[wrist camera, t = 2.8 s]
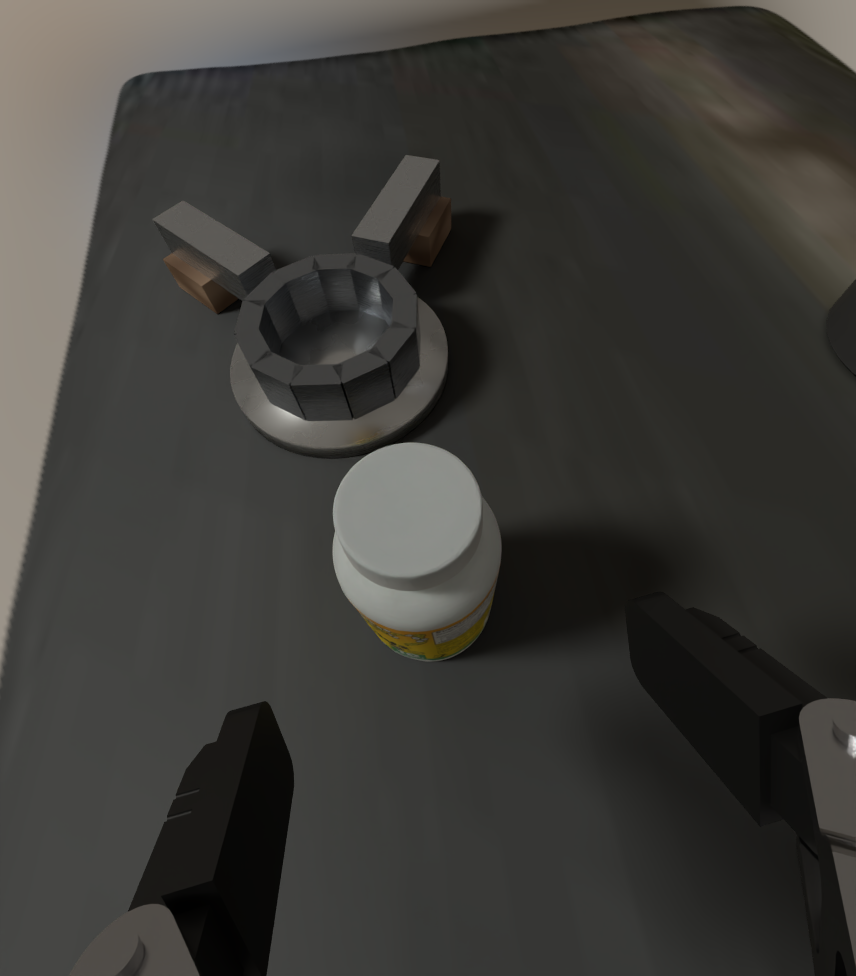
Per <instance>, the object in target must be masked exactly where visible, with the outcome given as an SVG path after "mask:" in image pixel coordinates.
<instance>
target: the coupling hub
mask: <svg viewBox="0 0 856 976" xmlns="http://www.w3.org/2000/svg"><path fill="white" fill-rule="evenodd" d="M273 272H274V273H272V272H271V273H270V274H269V275H268V276H267V277H266V278H265V279H264V280H263V281H262V282H261V283H260V284H259V285H258V286H257V287H256V288H255V289H254V290H253V291H252V292H251V293H250V294H249V295H247V296H246V297H245V298H244V301H242V305H241V309H240V312H239V316H238V320H237V324H236V327H235V331H234V336H235V338H236V340H237V342H238V343H237V345H236V348H235V351H234V354H233V357H232V362H231V367H230V380H231V385H232V390H233V393H234V396H235V399H236V401H237V402H238V404H239V406H240V408H241V409H242V411H243V412H244V414H245V415H246V417H247V418H248V420H249V421H250V423H251V424H252V425H253V427H254V428H255V429H256V430H257V431H258V432H259V433H260V434H261V435H262V436H263V437H265V438H266V439H267V440H268V441H270V442H272V443H273V444H275V445H276V446H278V447H280V448H283V449H285V450H287V451H290V452H293V453H296V454H300V455H303V456H309V457H316V458H344V457H352V456H357V455H362V454H366V453H369V452H372V451H376V450H378V449H381V448H383V447H385V446H388V445H390V444H392V443H394V442H396V441H397V440H399V439H401V438H403V437H404V436H406V435H407V434H408V433H410V432H411V431H412V430H414V429H415V428H416V427H417V426H418V425H419V424H421V423H422V422H423V421H424V420H425V419H426V418H427V416H428V415H429V414H430V413H431V411H432V410H433V409H434V407H435V406H436V404H437V402H438V401H439V399H440V397H441V395H442V392H443V390H444V388H445V384H446V380H447V375H448V347H447V339H446V335H445V331H444V328H443V326H442V324H441V322H440V320H439V319H438V317H437V316H436V314H435V313H434V311H433V310H432V309H431V308H430V307H429V306H428V305H427V304H426V303H425V302H424V301H422V300H421V299H420V298H418V297H417V294H416V292H415V291H414V289H413V288H412V287H411V286H410V284H409V283H408V282H407V281H406V280H405V278H404V277H403V276H402V275H401V273H400V272H399V271H398V270H397V269H396V267H395V268H394V266H392V265H389V264H386V263H384V262H381V261H378V260H375V259H372V258H370V257H367V256H364V255H361V254H359V253H358V254H357V253H349V254H325V255H314V257H313V255H312V256H310V257H307V258H305V259H302V260H300V261H297V262H295V263H292V264H290V265H287V266H285V267H282V268H280V269H277V270H275V271H273Z"/></svg>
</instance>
